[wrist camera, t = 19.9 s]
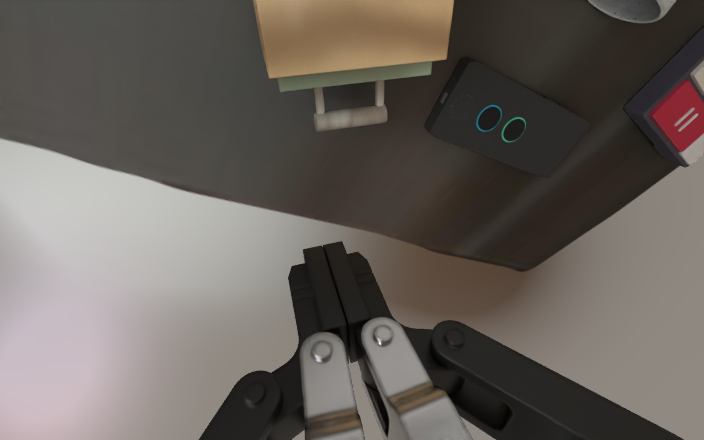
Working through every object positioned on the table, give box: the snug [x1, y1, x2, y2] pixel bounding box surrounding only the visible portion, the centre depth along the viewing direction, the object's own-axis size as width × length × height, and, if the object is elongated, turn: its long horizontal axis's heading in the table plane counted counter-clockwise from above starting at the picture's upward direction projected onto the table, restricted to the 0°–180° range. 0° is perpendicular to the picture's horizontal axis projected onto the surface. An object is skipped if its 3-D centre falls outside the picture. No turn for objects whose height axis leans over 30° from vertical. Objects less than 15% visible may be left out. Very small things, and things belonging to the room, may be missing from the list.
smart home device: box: [425, 58, 589, 178], centre depth 39 cm, size 8×2×20 cm
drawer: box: [276, 61, 432, 132], centre depth 25 cm, size 17×11×7 cm, turn 1°
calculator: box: [624, 27, 704, 167], centre depth 43 cm, size 11×4×15 cm
